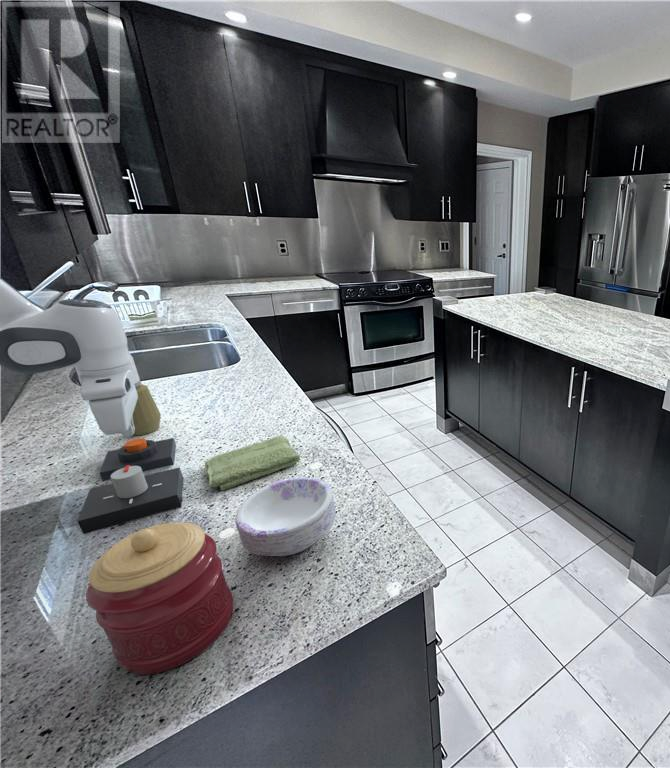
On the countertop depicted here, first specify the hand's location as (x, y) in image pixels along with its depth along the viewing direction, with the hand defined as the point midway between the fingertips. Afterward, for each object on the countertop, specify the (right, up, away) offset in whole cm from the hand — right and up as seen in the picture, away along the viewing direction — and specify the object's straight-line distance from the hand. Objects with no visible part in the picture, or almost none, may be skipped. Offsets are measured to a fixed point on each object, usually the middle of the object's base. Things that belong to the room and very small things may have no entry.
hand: (129, 433), depth 90 cm
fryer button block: (0, -7, +3) cm, 7 cm away
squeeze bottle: (-11, -1, +16) cm, 19 cm away
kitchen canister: (+39, -24, -33) cm, 57 cm away
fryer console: (+11, -13, -10) cm, 20 cm away
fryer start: (0, -4, +2) cm, 4 cm away
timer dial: (+11, -10, -11) cm, 19 cm away
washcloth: (+26, -8, +3) cm, 27 cm away
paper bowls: (+46, -17, -17) cm, 52 cm away
